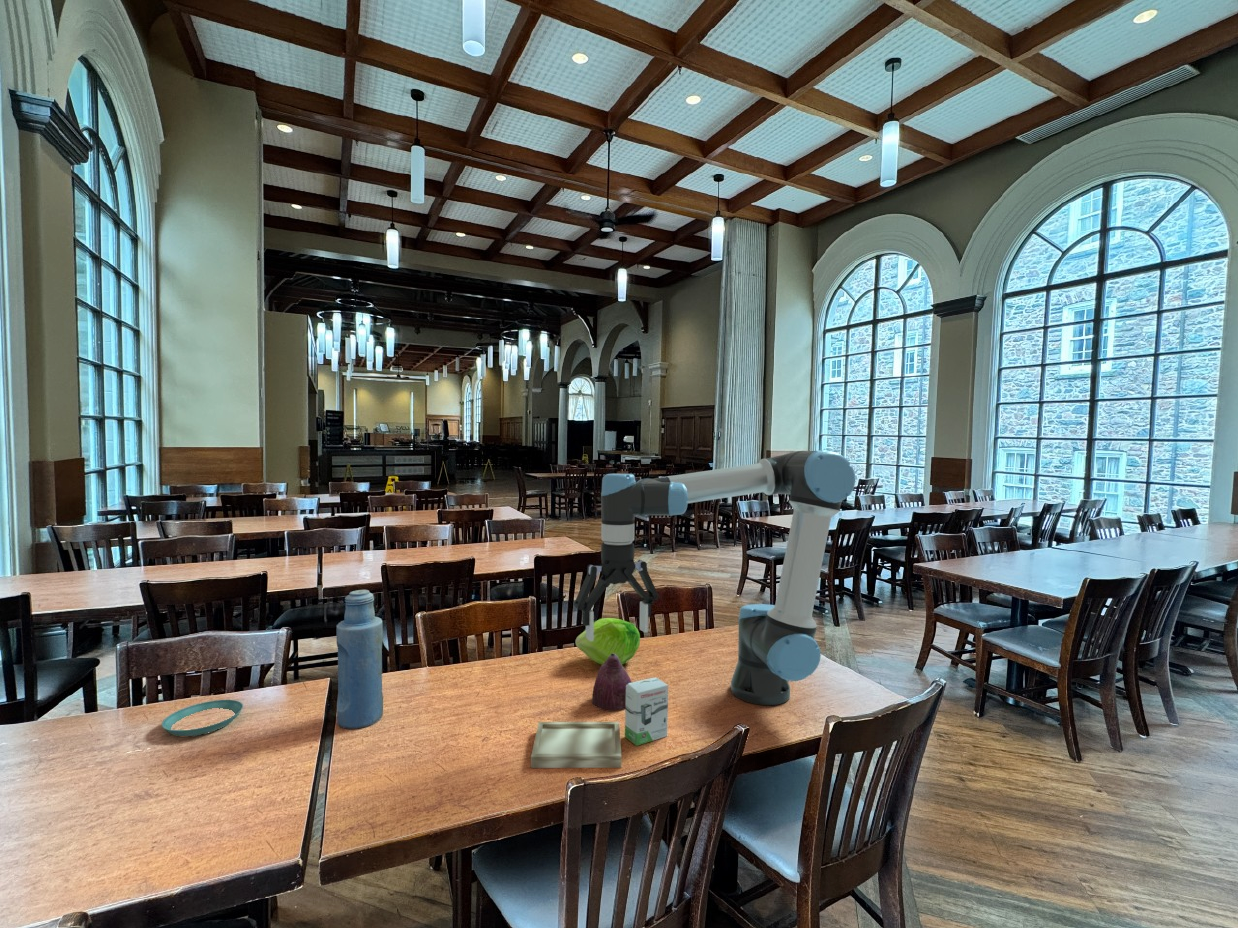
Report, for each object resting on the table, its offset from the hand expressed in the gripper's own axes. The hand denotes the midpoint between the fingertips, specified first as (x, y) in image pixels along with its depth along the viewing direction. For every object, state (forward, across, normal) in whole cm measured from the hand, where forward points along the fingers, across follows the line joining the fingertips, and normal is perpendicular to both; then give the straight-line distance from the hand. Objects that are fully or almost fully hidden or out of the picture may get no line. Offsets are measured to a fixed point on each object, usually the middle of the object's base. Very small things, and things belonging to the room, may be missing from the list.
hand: (617, 635), depth 125 cm
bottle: (+21, +53, -28) cm, 63 cm away
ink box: (+22, -4, +6) cm, 23 cm away
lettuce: (+22, -14, -36) cm, 44 cm away
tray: (+21, +11, +4) cm, 25 cm away
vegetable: (+22, -5, -13) cm, 26 cm away
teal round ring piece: (+21, +85, -40) cm, 96 cm away
